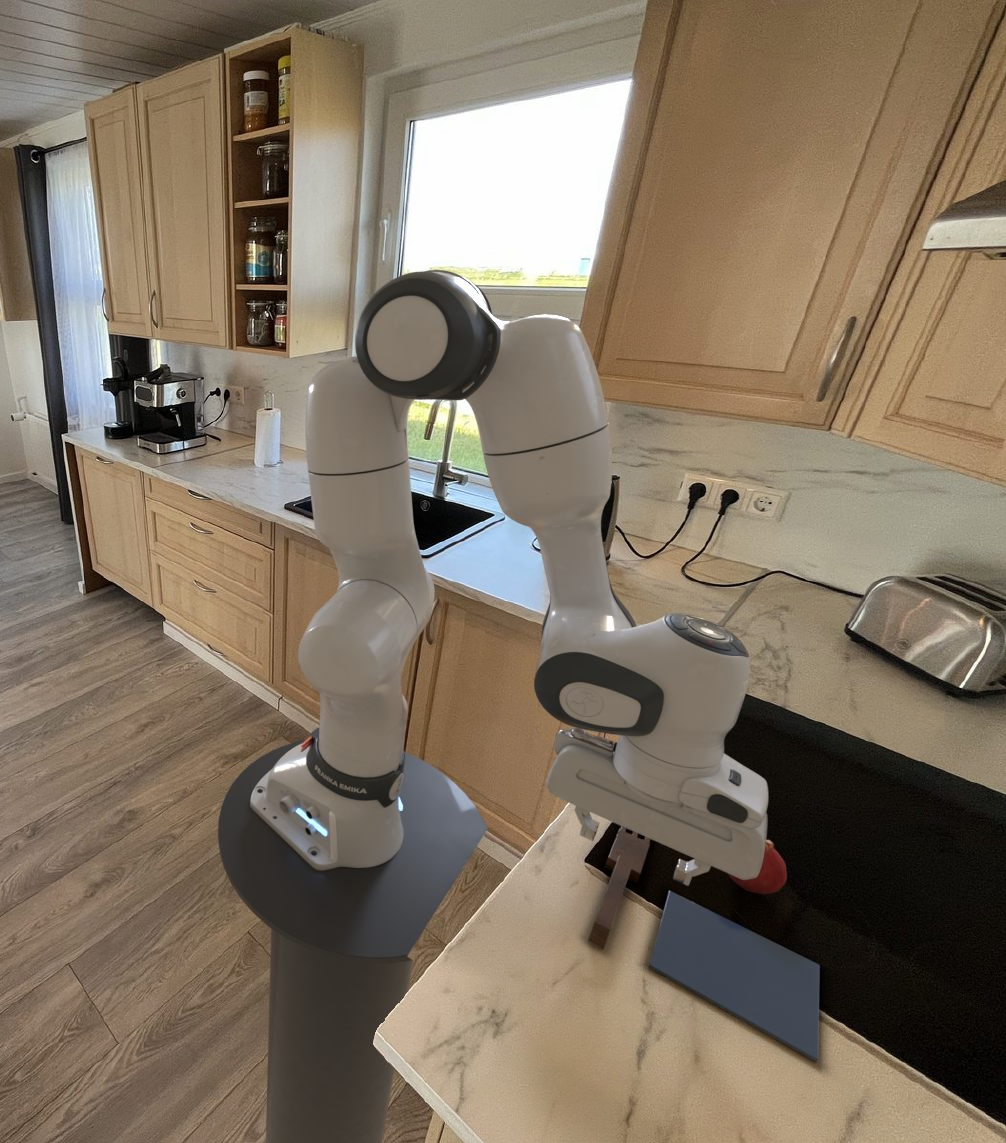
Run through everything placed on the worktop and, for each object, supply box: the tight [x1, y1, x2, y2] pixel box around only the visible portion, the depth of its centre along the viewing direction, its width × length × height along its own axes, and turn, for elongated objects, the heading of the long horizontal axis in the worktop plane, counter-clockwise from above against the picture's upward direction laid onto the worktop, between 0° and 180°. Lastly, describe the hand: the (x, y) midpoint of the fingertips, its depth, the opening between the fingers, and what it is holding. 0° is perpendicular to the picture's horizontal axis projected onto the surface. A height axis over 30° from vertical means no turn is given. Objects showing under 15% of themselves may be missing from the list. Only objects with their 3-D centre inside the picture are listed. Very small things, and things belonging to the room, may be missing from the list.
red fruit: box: [728, 839, 788, 895], centre depth 74 cm, size 6×6×8 cm
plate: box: [648, 890, 821, 1063], centre depth 67 cm, size 14×12×1 cm
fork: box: [587, 825, 651, 950], centre depth 76 cm, size 22×4×3 cm, turn 139°
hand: (632, 856), depth 71 cm, fingers open, 8 cm apart
